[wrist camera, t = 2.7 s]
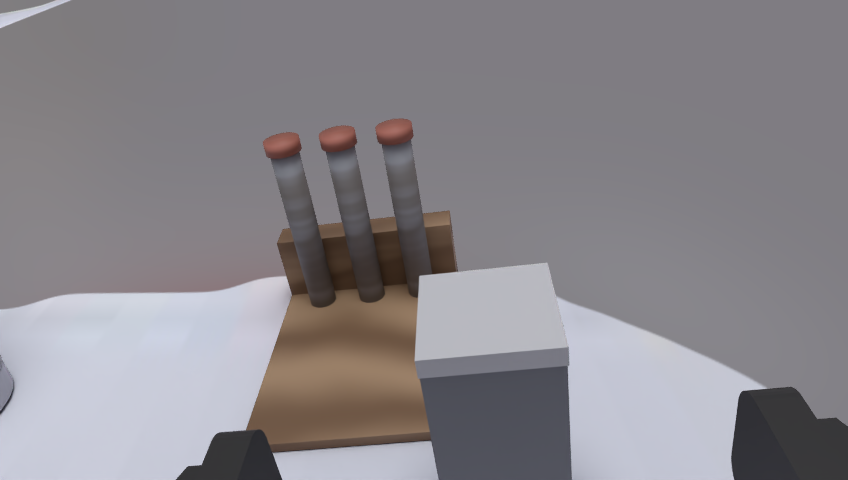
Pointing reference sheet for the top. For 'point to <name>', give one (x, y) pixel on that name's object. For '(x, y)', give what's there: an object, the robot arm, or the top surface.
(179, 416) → the top surface
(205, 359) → the top surface
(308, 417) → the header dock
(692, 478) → the top surface
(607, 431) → the top surface
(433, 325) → the plug block
